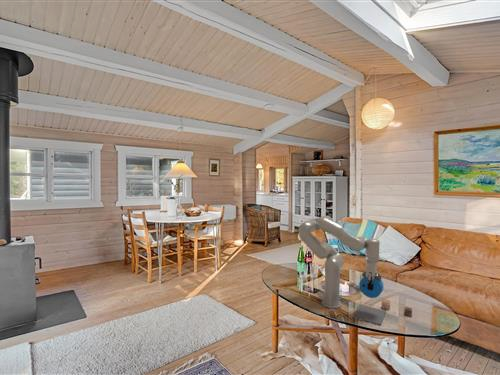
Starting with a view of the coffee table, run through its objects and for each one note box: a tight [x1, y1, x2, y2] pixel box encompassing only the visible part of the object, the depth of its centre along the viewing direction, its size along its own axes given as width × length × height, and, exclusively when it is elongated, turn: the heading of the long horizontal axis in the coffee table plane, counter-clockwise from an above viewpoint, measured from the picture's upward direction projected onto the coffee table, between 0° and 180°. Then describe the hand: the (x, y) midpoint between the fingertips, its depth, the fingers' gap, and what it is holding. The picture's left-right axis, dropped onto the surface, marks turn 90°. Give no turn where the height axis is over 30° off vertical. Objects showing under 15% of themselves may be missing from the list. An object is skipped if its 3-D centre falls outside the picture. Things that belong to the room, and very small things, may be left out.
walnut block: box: [403, 306, 413, 318], centre depth 185 cm, size 4×4×4 cm
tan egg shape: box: [381, 298, 391, 311], centre depth 193 cm, size 5×5×5 cm
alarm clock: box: [358, 270, 384, 299], centre depth 183 cm, size 13×6×15 cm, turn 55°
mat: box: [352, 304, 387, 326], centre depth 184 cm, size 16×20×1 cm
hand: (371, 287), depth 184 cm, fingers closed on alarm clock, 6 cm apart
